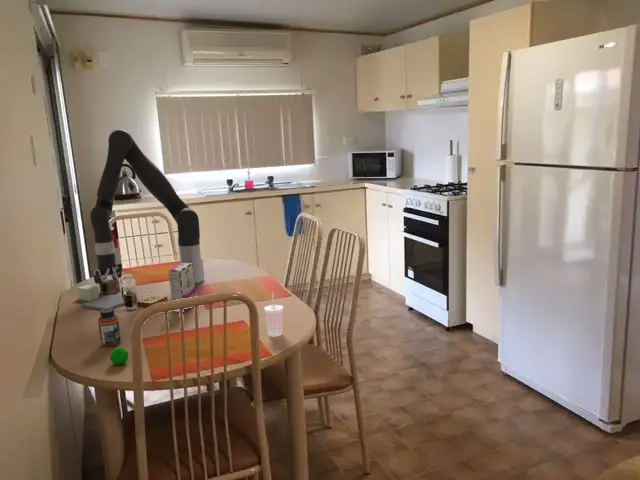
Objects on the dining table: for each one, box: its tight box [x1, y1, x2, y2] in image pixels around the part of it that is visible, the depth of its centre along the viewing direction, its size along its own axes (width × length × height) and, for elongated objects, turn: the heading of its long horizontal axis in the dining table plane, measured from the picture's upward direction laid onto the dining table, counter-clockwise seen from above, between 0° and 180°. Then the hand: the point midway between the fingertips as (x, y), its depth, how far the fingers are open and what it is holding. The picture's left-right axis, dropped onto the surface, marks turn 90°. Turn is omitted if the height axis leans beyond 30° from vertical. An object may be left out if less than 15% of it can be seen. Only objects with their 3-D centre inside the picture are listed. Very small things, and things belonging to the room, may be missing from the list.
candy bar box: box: [168, 263, 197, 313], centre depth 202 cm, size 11×5×16 cm, turn 168°
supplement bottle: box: [97, 308, 122, 347], centre depth 169 cm, size 6×6×11 cm
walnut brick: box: [98, 278, 121, 295], centre depth 228 cm, size 4×7×5 cm, turn 62°
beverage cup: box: [264, 292, 284, 338], centre depth 172 cm, size 6×6×14 cm
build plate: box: [81, 294, 124, 311], centre depth 213 cm, size 14×14×1 cm
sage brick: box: [77, 284, 100, 302], centre depth 220 cm, size 4×7×5 cm, turn 62°
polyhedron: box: [109, 347, 129, 366], centre depth 155 cm, size 5×5×5 cm
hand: (109, 290), depth 229 cm, fingers open, 5 cm apart
